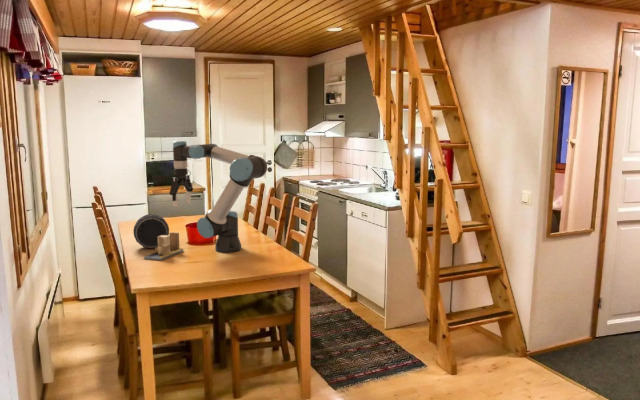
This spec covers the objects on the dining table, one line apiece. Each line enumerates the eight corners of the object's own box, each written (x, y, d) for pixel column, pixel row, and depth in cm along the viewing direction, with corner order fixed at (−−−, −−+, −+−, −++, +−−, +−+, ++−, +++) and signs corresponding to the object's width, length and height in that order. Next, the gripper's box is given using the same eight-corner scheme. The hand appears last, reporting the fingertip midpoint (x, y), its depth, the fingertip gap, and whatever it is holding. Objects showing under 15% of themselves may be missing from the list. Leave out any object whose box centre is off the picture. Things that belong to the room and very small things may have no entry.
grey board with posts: (183, 251, 293) (182, 232, 291) (161, 260, 273) (160, 240, 271) (167, 249, 296) (166, 231, 294) (144, 259, 277) (143, 239, 275)
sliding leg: (170, 253, 283) (169, 235, 282) (166, 254, 279) (165, 237, 278) (158, 251, 286) (157, 234, 284) (153, 253, 282) (152, 236, 280)
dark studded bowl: (170, 248, 300) (168, 215, 296) (134, 251, 293) (132, 217, 290) (169, 244, 310) (167, 212, 306) (134, 246, 303) (132, 214, 300)
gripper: (187, 165, 303) (188, 200, 306) (161, 169, 280) (163, 207, 283) (198, 166, 301) (199, 201, 304) (173, 170, 277) (175, 208, 281)
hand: (182, 204), depth 293 cm, fingers open, 13 cm apart
